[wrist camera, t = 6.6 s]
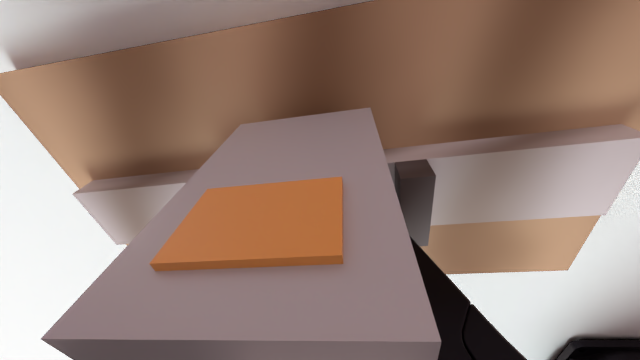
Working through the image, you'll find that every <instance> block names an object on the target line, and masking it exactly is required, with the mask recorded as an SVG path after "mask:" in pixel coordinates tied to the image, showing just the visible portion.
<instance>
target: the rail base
mask: <svg viewBox="0 0 640 360" xmlns="http://www.w3.org/2000/svg"><path fill="white" fill-rule="evenodd" d="M0 95H1V96H2V97H3V99H4V100H5V101H6V102H7V103H8V105H9V106H10V107H11V108H12V109H13V111H14V112H15V113H16V114H17V115H18V116H19V118H20V119H21V120H22V121H23V122H24V124H25V125H26V126H27V127H28V128H29V130H30V131H31V132H32V133H33V134H34V135H35V137H36V138H37V139H38V140H39V141H40V143H41V144H42V145H43V146H44V147H45V149H46V150H47V151H48V152H49V153H50V155H51V156H52V157H53V158H54V159H55V160H56V162H57V163H58V164H59V165H60V166H61V168H62V169H63V170H64V171H65V172H66V174H67V175H68V176H69V177H70V178H71V179H72V181H73V182H74V183H75V184H76V185H77V187H78V188H79V190H78V191H76V192H75V193H73V195H74V196H75V197H76V199H77V200H78V201H79V202H80V203H81V204H82V205H83V207H84V208H85V209H86V210H87V211H88V212H89V213H90V215H91V216H92V217H93V218H94V219H95V220H96V222H97V223H98V224H99V225H100V226H101V227H102V228H103V230H104V231H105V232H106V233H107V234H108V235H109V236H110V238H111V239H112V240H113V241H114V242H115V243H116V244H117V245H119V244H126V245H127V246H128V245H129V244H130V243H131V242H132V240H133V239H134V238H135V237H136V236H137V235H138V234H139V233H140V232H141V231H142V230H143V229H144V228H145V227H146V225H147V224H148V223H149V222H150V221H151V220H152V219H153V218H154V217H155V216H156V215H157V214H158V213H159V212H160V210H161V209H162V208H163V207H164V206H165V205H166V204H167V203H168V202H169V201H170V200H171V199H172V198H173V197H174V195H175V194H176V193H177V192H178V191H179V190H180V189H181V188H182V187H183V186H184V185H185V184H186V183H187V181H188V180H189V179H190V178H191V177H192V176H193V175H194V174H195V173H196V172H197V171H198V170H199V169H200V168H201V166H202V165H203V164H204V163H205V162H206V161H207V160H208V159H209V158H210V157H211V156H212V155H213V154H214V153H215V151H216V150H217V149H218V148H219V147H220V146H221V145H222V144H223V143H224V142H225V141H226V140H227V139H228V138H229V136H230V135H231V134H232V133H233V132H234V131H235V130H236V129H237V128H238V127H239V126H240V125H241V124H247V123H255V122H262V121H270V120H278V119H285V118H293V117H300V116H308V115H316V114H323V113H331V112H339V111H346V110H354V109H362V108H369V107H370V108H371V111H372V115H373V118H374V121H375V124H376V128H377V131H378V134H379V138H380V141H381V144H382V147H383V151H384V154H385V157H386V161H387V164H388V167H389V171H390V174H391V177H392V180H393V184H394V187H395V190H396V194H397V197H398V200H399V203H400V207H401V210H402V213H403V217H404V220H405V223H406V227H407V230H408V233H409V235H410V236H411V237H412V238H413V240H414V241H415V242H416V243H417V244H418V245H419V246H420V247H421V248H422V249H423V250H424V252H425V253H426V254H427V255H428V256H429V257H430V258H431V259H432V260H433V261H434V262H435V264H436V265H437V266H438V267H439V268H440V269H441V270H442V271H443V272H444V273H445V274H467V273H497V272H528V271H558V270H568V269H569V267H570V266H571V264H572V262H573V261H574V259H575V257H576V256H577V254H578V252H579V251H580V249H581V247H582V246H583V244H584V242H585V241H586V239H587V237H588V236H589V234H590V232H591V231H592V229H593V227H594V226H595V224H596V222H597V221H598V219H599V217H600V216H601V215H606V214H607V212H608V210H609V209H610V207H611V205H612V204H613V202H614V201H615V199H616V197H617V196H618V194H619V192H620V191H621V189H622V188H623V186H624V184H625V183H626V181H627V179H628V178H629V176H630V175H631V173H632V171H633V170H634V168H635V166H636V165H637V163H638V162H639V160H640V0H374V1H369V2H364V3H359V4H353V5H348V6H343V7H338V8H333V9H328V10H323V11H318V12H312V13H307V14H302V15H297V16H292V17H287V18H282V19H276V20H271V21H266V22H261V23H256V24H251V25H246V26H240V27H235V28H230V29H225V30H220V31H215V32H210V33H205V34H199V35H194V36H189V37H184V38H179V39H174V40H169V41H163V42H158V43H153V44H148V45H143V46H138V47H133V48H128V49H122V50H117V51H112V52H107V53H102V54H97V55H92V56H86V57H81V58H76V59H71V60H66V61H61V62H56V63H51V64H45V65H40V66H35V67H30V68H25V69H20V70H15V71H9V72H4V73H0Z"/></svg>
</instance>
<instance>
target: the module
mask: <svg viewBox="0 0 640 360" xmlns="http://www.w3.org/2000/svg"><path fill="white" fill-rule="evenodd" d="M41 339H42V340H43V341H45V342H46V343H48V344H49V345H51V346H53V347H54V348H56V349H57V350H59V351H61V352H62V353H64V354H65V355H67V356H68V357H70V358H72V359H73V360H438V355H439V351H440V346H441V339H440V335H439V332H438V329H437V325H436V322H435V319H434V316H433V312H432V309H431V306H430V302H429V299H428V296H427V292H426V289H425V286H424V283H423V279H422V276H421V273H420V269H419V266H418V263H417V259H416V256H415V253H414V250H413V246H412V243H411V240H410V236H409V233H408V230H407V227H406V223H405V220H404V217H403V213H402V210H401V207H400V203H399V200H398V197H397V194H396V190H395V187H394V184H393V180H392V177H391V174H390V171H389V167H388V164H387V161H386V157H385V154H384V151H383V147H382V144H381V141H380V138H379V134H378V131H377V128H376V124H375V121H374V118H373V115H372V111H371V108H370V107H369V108H362V109H354V110H346V111H339V112H331V113H323V114H316V115H308V116H300V117H293V118H285V119H278V120H270V121H262V122H255V123H247V124H241V125H240V126H239V127H238V128H237V129H236V130H235V131H234V132H233V133H232V134H231V135H230V136H229V138H228V139H227V140H226V141H225V142H224V143H223V144H222V145H221V146H220V147H219V148H218V149H217V150H216V151H215V153H214V154H213V155H212V156H211V157H210V158H209V159H208V160H207V161H206V162H205V163H204V164H203V165H202V166H201V168H200V169H199V170H198V171H197V172H196V173H195V174H194V175H193V176H192V177H191V178H190V179H189V180H188V181H187V183H186V184H185V185H184V186H183V187H182V188H181V189H180V190H179V191H178V192H177V193H176V194H175V195H174V197H173V198H172V199H171V200H170V201H169V202H168V203H167V204H166V205H165V206H164V207H163V208H162V209H161V210H160V212H159V213H158V214H157V215H156V216H155V217H154V218H153V219H152V220H151V221H150V222H149V223H148V224H147V225H146V227H145V228H144V229H143V230H142V231H141V232H140V233H139V234H138V235H137V236H136V237H135V238H134V239H133V240H132V242H131V243H130V244H129V245H128V246H127V247H126V248H125V249H124V250H123V251H122V252H121V253H120V254H119V256H118V257H117V258H116V259H115V260H114V261H113V262H112V263H111V264H110V265H109V266H108V267H107V268H106V269H105V271H104V272H103V273H102V274H101V275H100V276H99V277H98V278H97V279H96V280H95V281H94V282H93V283H92V284H91V286H90V287H89V288H88V289H87V290H86V291H85V292H84V293H83V294H82V295H81V296H80V297H79V298H78V300H77V301H76V302H75V303H74V304H73V305H72V306H71V307H70V308H69V309H68V310H67V311H66V312H65V313H64V315H63V316H62V317H61V318H60V319H59V320H58V321H57V322H56V323H55V324H54V325H53V326H52V327H51V328H50V330H49V331H48V332H47V333H46V334H45V335H44V336H43V337H42V338H41Z"/></svg>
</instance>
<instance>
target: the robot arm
mask: <svg viewBox="0 0 640 360" xmlns="http://www.w3.org/2000/svg"><path fill="white" fill-rule="evenodd" d="M409 236H410V235H409ZM410 240H411V243H412V246H413V250H414V253H415V256H416V259H417V263H418V266H419V269H420V273H421V276H422V279H423V283H424V286H425V289H426V292H427V296H428V299H429V302H430V306H431V309H432V312H433V316H434V319H435V322H436V325H437V329H438V332H439V335H440V339H441V346H440V351H439V355H438V360H527V359H526V358H525V357H524V356H523V355H522V354H521V353H520V352H519V351H518V350H516V349H515V348H514V347H513V346H512V345H511V344H510V343H509V342H508V341H507V340H506V339H505V338H504V337H503V336H502V335H501V334H500V333H499V332H498V331H497V330H496V328H495V327H494V326H493V325H492V324H491V323H490V322H489V321H488V320H487V319H486V318H485V317H484V316H483V315H482V314H481V313H480V311H479V310H478V309H477V308H476V307H475V306H474V305H473V304H471V305H470V303H471V302H470V301H469V300H468V298H467V297H466V296H465V295H464V294H463V293H462V292H461V291H460V290H459V289H458V288H457V286H456V285H455V284H454V283H453V282H452V281H451V280H450V279H449V278H448V277H447V276H446V274H445V273H444V272H443V271H442V270H441V269H440V268H439V267H438V266H437V265H436V264H435V262H434V261H433V260H432V259H431V258H430V257H429V256H428V255H427V254H426V253H425V252H424V250H423V249H422V248H421V247H420V246H419V245H418V244H417V243H416V242H415V241H414V240H413V238H412V237H411V236H410ZM556 360H640V340H577V341H573V342H571V343H570V344H569V345H568V346H567V347H566V348H565V350H564V351H563V352H562V353H561V355H560V356H559V357H558V358H557V359H556Z"/></svg>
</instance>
